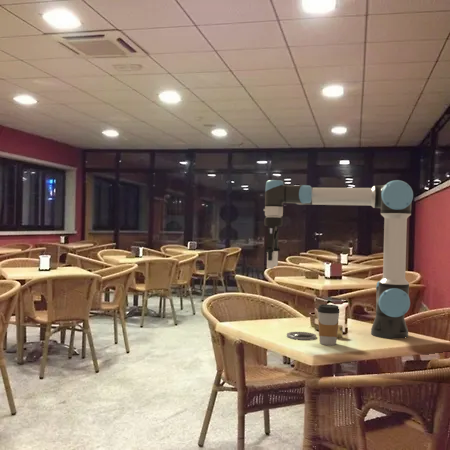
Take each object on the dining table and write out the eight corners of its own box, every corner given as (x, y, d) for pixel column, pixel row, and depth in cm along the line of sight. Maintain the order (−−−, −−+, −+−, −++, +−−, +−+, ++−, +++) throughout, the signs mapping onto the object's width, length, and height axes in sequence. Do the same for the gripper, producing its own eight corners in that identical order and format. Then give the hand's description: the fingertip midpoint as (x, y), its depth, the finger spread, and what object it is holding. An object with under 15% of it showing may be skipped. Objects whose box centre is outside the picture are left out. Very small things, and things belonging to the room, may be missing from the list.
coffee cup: (338, 347, 200) (339, 308, 200) (316, 346, 202) (317, 306, 202) (338, 342, 209) (339, 304, 209) (317, 341, 210) (318, 303, 210)
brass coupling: (342, 336, 220) (342, 325, 220) (342, 339, 215) (342, 327, 215) (330, 336, 221) (330, 324, 221) (329, 338, 216) (330, 326, 216)
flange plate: (316, 335, 222) (316, 332, 222) (315, 341, 210) (315, 338, 210) (288, 333, 225) (288, 330, 225) (285, 339, 213) (285, 336, 213)
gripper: (268, 217, 236) (267, 264, 236) (260, 216, 212) (258, 269, 212) (285, 217, 234) (284, 265, 234) (278, 216, 210) (277, 269, 210)
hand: (272, 267), depth 223 cm, fingers open, 13 cm apart
